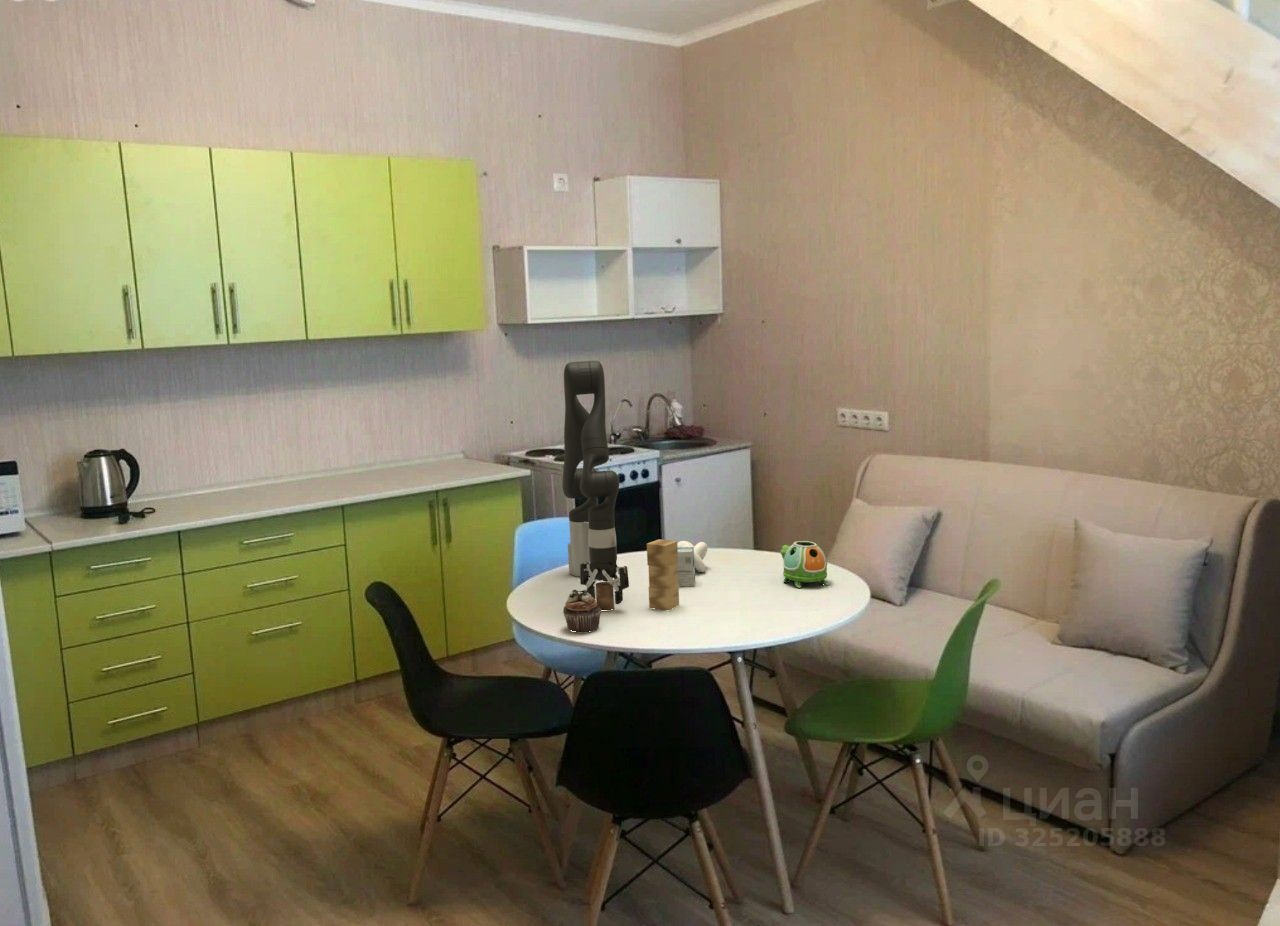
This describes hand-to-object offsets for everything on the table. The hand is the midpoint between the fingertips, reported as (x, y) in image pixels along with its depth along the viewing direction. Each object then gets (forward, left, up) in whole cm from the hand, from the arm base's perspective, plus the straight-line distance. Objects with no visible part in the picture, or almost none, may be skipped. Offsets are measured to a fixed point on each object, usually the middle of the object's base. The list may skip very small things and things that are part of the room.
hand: (605, 601), depth 281 cm
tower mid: (+14, +8, +4) cm, 17 cm away
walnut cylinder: (0, 0, -2) cm, 2 cm away
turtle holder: (+39, +46, -2) cm, 60 cm away
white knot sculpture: (+2, +45, -2) cm, 45 cm away
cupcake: (+4, -17, -2) cm, 18 cm away
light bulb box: (+6, +30, -2) cm, 31 cm away
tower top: (+14, +8, +10) cm, 19 cm away
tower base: (+14, +8, -2) cm, 16 cm away
